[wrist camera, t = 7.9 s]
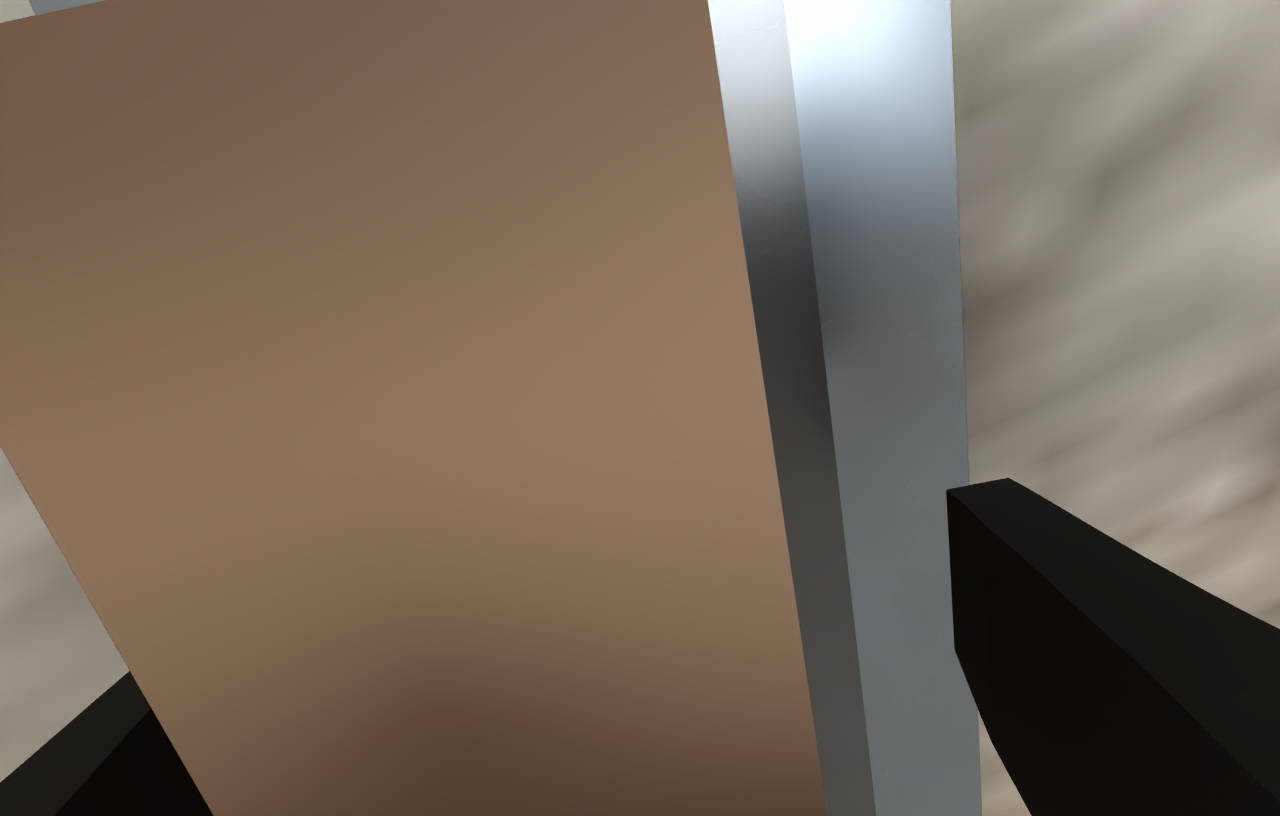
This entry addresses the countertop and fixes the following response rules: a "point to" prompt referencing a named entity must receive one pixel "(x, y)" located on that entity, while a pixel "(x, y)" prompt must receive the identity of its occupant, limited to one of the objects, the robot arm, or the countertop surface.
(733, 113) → the track
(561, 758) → the door panel
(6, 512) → the countertop surface
